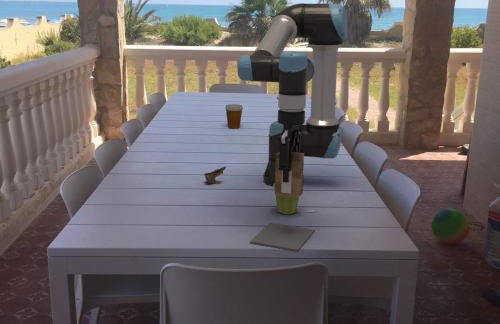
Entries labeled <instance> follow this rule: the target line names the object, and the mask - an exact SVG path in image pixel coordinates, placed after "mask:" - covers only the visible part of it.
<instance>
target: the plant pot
mask: <svg viewBox="0 0 500 324" xmlns="http://www.w3.org/2000/svg"><path fill="white" fill-rule="evenodd" d="M272 188H273V189H274V190H275V184H274V185H273V186H272ZM299 198H300V197H299ZM299 198H297V197H290V196H283V195H275V199H276V200H275V201H276V210H277V212H278V213H280V214H282V215H293V214H296V213H297V209H298V203H299V200H300V199H299Z"/></svg>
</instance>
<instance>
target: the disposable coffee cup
mask: <svg viewBox="0 0 500 324" xmlns="http://www.w3.org/2000/svg"><path fill="white" fill-rule="evenodd" d="M224 109H225V112H226V121H227V128H228V129H231V130H238V129H240V128H241V121H242V113H243V109H244V108H243V105H242V104H237V103H235V104H233V103H232V104H231V103H230V104H226V105H225V107H224Z"/></svg>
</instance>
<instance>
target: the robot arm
mask: <svg viewBox="0 0 500 324" xmlns="http://www.w3.org/2000/svg"><path fill="white" fill-rule="evenodd" d="M268 27H269V28H268V31H267V32H266V33H265V35H264V36H263V38H262V40H261V41H260V42H259V44H258V45H257V47H256V48H255V50H254V51H253V53H252V54H251V55H250V54H245V55H244V54H243V55H240V57H239V58H238V60H237V66H236V68H237V76H238V78H239V79H240V80H242V81H246V82H247V81H248V82H251V83H252V82H256V83H257V82H258V83H259V82H263V83H278V96H276V99H277V100H278V101H277V103H278V104H277V106H278V108H279V109H278V110H277V120H276V121H273V122H272V123H270V126H269V131H268V133H269V134H268V159H267V160H268V162H267V164H266V167H265V169H264V173H263V177H262V178H263V183H265V184H267V186H271V187H273V185H274V184H275V172H276V153H278V152H279V170H282V185H281V192H282V193H291V184H292V171H291V161H292V152H298V153H304V157H309V158H319V159H335V158H337V156H338V155H339V152H340V148H341V144H342V140H343V134H344V128H343V127H342V126H339V124H340V122H339V120H338V119H337V118H336V97H337V96H336V95H337V93H336V92H337V74H338V73H337V72H338V71H337V70H338V69H337V68H338V50H339V49H340V47H342V45H343V41H344V40H347V38H348V36H349V35H348V30H349V29H348V28H349V27H348V16H347V11H346V8H345V6H344V5H343V4H339V3H331V2H330V3H328V2H327V3H303V2H301V3H300V2H299V3H295V4H292V5H289V6H287V7H285V8H283V9H282V10H280V11H278V13H276V14H275V16H273V18H272V19H271V21H269V26H268ZM294 39H308V42H307V43H308V46H309V47H310V48H311V50H312V53H311V54H312V57H308V55H307V54H306V53H305V52H300V51H298V52H297V51H285V52H284V50H285V49H286V47H287V45H288V43H289V42H291V41H293V40H294ZM310 81H311V92H310V93H311V94H310V116H309V117H308V118H307V119H306V111H305V109H306V106H307V105H306V101H307V99H306V98H307V96H306V95H307V93H306V92H307V91H306V90H307V83H308V82H310ZM305 122H306V123H305ZM304 180H305V175H304V174H303V184H304V182H305V181H304Z"/></svg>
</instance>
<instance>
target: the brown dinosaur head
mask: <svg viewBox="0 0 500 324" xmlns="http://www.w3.org/2000/svg"><path fill="white" fill-rule="evenodd" d="M226 168H227V166H223V167H220V168H217V169H215V170H212V171H211V172H205V173H204V174H203V175H204V178H205V180H206V183H207V184H210V183H214V184H216V183H221V184H222V181H220V180H217V179H216V178H218V177H219V176H221V175H223V174H224V171H225V170H226Z"/></svg>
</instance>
